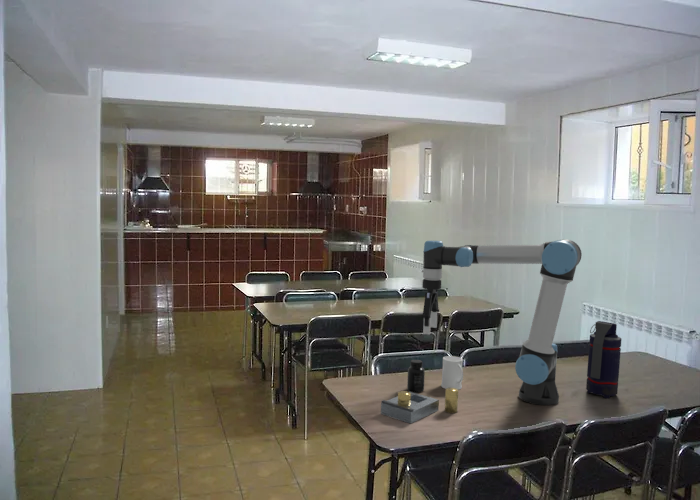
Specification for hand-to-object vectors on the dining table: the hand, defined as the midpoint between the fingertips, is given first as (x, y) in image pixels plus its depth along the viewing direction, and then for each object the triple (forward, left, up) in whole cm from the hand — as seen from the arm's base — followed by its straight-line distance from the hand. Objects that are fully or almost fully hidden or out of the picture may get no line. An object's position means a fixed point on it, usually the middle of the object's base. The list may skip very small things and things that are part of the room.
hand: (430, 330), depth 238 cm
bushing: (-20, +16, -24) cm, 35 cm away
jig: (-10, +28, -24) cm, 38 cm away
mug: (-7, -8, -24) cm, 27 cm away
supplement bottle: (+2, +5, -24) cm, 25 cm away
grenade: (-54, -46, -24) cm, 75 cm away
